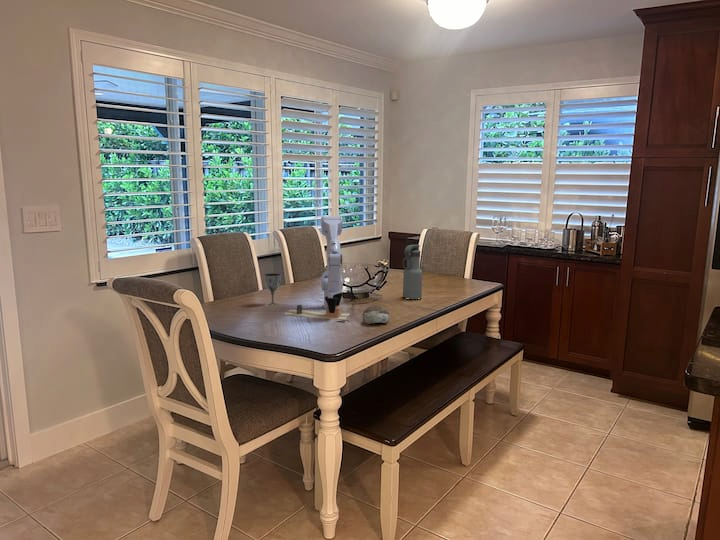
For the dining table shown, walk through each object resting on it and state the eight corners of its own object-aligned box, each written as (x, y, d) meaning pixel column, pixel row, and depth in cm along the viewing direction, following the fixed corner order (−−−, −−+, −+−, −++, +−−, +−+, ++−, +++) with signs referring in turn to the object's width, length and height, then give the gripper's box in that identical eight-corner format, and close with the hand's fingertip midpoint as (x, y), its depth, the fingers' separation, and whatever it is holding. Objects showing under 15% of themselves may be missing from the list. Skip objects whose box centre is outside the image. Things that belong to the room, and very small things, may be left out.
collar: (329, 313, 242) (329, 305, 241) (341, 314, 241) (341, 305, 240) (326, 316, 236) (326, 307, 236) (338, 317, 235) (338, 308, 234)
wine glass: (261, 304, 262) (260, 274, 259) (274, 302, 267) (273, 272, 265) (271, 307, 256) (271, 276, 254) (284, 305, 262) (284, 274, 260)
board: (290, 311, 249) (290, 301, 248) (350, 316, 243) (350, 305, 242) (282, 318, 237) (282, 307, 236) (344, 322, 232) (344, 311, 231)
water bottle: (411, 301, 275) (413, 246, 271) (398, 298, 283) (399, 244, 278) (425, 298, 282) (427, 245, 277) (411, 295, 289) (413, 243, 285)
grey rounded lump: (378, 321, 223) (370, 299, 227) (361, 330, 228) (354, 308, 232) (397, 321, 235) (390, 300, 238) (381, 329, 240) (374, 308, 243)
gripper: (329, 277, 244) (329, 306, 246) (321, 283, 230) (320, 314, 232) (345, 278, 242) (344, 307, 244) (337, 283, 228) (336, 315, 230)
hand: (334, 310), depth 238 cm, fingers open, 7 cm apart
